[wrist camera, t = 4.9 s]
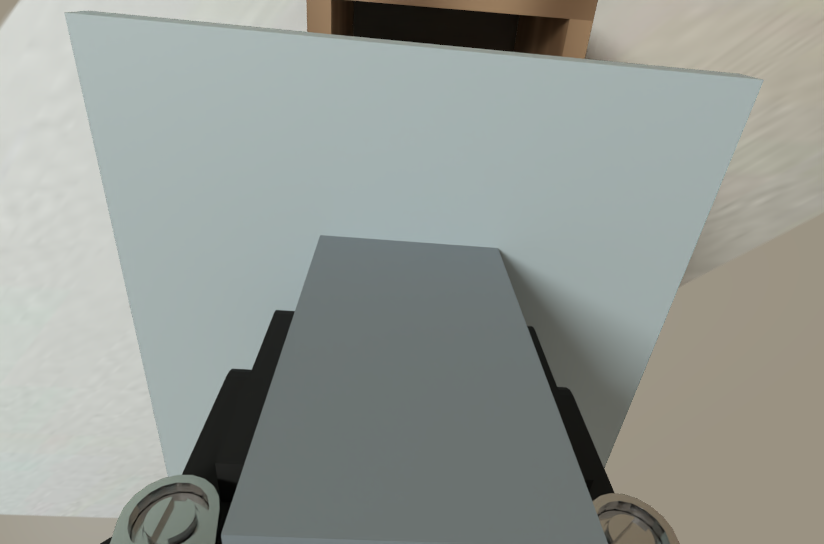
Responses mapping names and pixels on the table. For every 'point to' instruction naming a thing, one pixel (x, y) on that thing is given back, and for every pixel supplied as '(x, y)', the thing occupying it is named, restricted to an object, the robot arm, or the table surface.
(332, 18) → the box
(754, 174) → the table surface
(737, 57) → the table surface
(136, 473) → the table surface
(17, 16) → the table surface
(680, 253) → the lid
